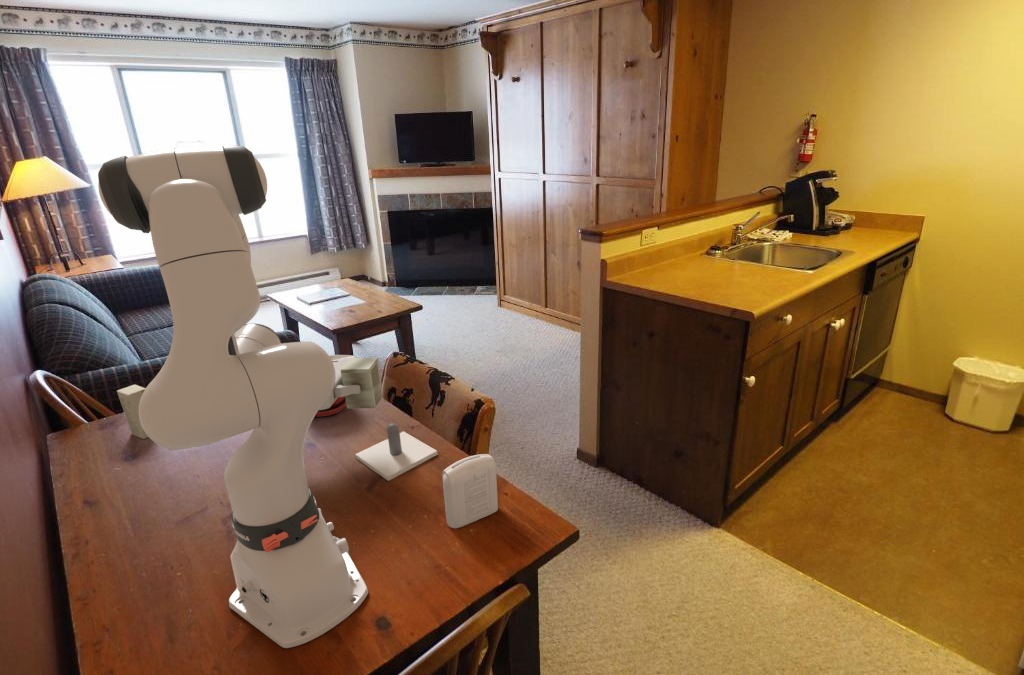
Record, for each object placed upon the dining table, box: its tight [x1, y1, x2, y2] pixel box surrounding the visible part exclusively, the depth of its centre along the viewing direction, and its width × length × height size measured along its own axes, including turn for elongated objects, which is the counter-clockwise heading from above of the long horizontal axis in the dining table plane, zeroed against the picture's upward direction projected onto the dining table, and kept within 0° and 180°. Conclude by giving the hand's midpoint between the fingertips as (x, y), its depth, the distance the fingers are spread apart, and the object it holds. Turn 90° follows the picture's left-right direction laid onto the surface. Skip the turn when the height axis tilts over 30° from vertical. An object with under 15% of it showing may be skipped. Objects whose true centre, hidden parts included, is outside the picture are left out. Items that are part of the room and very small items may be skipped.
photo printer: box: [441, 453, 499, 529], centre depth 99 cm, size 10×4×12 cm, turn 122°
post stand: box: [354, 422, 438, 482], centre depth 120 cm, size 13×13×8 cm
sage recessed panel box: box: [341, 357, 384, 409], centre depth 115 cm, size 6×6×9 cm
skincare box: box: [116, 384, 149, 440], centre depth 134 cm, size 6×4×12 cm
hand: (366, 380), depth 115 cm, fingers closed on sage recessed panel box, 6 cm apart
